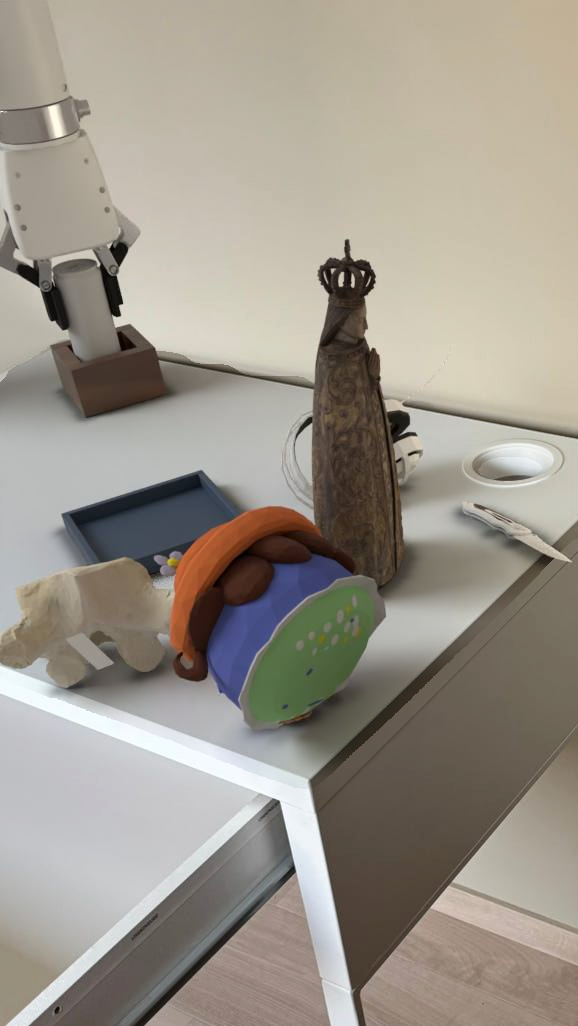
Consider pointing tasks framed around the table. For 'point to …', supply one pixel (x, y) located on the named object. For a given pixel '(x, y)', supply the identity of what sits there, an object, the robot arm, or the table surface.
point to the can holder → (111, 374)
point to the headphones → (404, 445)
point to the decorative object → (89, 619)
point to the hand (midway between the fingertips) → (88, 318)
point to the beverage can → (86, 309)
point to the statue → (353, 432)
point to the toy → (266, 615)
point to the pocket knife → (510, 528)
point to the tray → (150, 521)
